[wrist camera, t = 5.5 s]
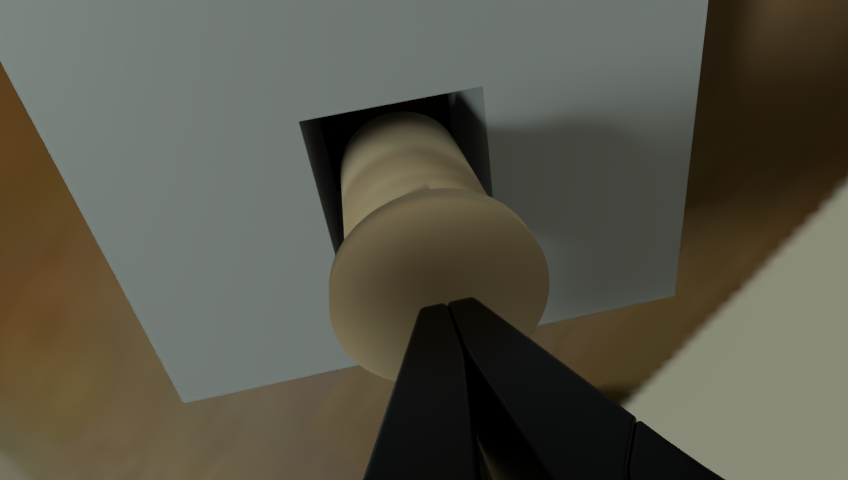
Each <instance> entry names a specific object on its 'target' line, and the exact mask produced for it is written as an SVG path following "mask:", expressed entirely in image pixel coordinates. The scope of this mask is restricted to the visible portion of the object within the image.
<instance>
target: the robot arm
mask: <svg viewBox="0 0 848 480" xmlns="http://www.w3.org/2000/svg"><path fill="white" fill-rule="evenodd" d="M363 480H725V479H723V478H722V477H720V476H719V475H717V474H715V473H714V472H712V471H711V470H709V469H708V468H706V467H704V466H703V465H701V464H700V463H698V462H697V461H696V460H694V459H693V458H691V457H690V456H689V455H687V454H686V453H684V452H683V451H681V450H680V449H679V448H677V447H676V446H674V445H673V444H671V443H670V442H669V441H667V440H666V439H665V438H663V437H662V436H660V435H659V434H658V433H656V432H655V431H654V430H652V429H651V428H650V427H648V426H647V425H646V424H644V423H643V422H641V421H638V422H636V418H635V416H633V415H632V414H631V413H629V412H628V411H626V410H625V409H624V408H622V407H621V406H620V405H618V404H617V403H616V402H614V401H613V400H612V399H610V398H609V397H608V396H606V395H605V394H604V393H602V392H601V391H600V390H598V389H597V388H596V387H594V386H593V385H592V384H590V383H589V382H587V381H586V380H585V379H583V378H582V377H581V376H579V375H578V374H577V373H575V372H574V371H573V370H571V369H570V368H569V367H567V366H566V365H565V364H563V363H562V362H561V361H559V360H558V359H557V358H555V357H554V356H553V355H551V354H550V353H548V352H547V351H546V350H544V349H543V348H542V347H540V346H539V345H538V344H536V343H535V342H534V341H532V340H531V339H530V338H528V337H527V336H526V335H524V334H523V333H522V332H520V331H519V330H518V329H516V328H515V327H514V326H512V325H511V324H509V323H508V322H507V321H505V320H504V319H503V318H501V317H500V316H499V315H497V314H496V313H495V312H493V311H492V310H491V309H489V308H488V307H487V306H485V305H484V304H483V303H481V302H480V301H479V300H477V299H476V298H474V297H468V298H463V299H458V300H454V301H450V302H449V303H448V306H447V305H446V304H444V303H440V304H435V305H430V306H426V307H422V308H421V309H420V310H419V312H418V315H417V318H416V321H415V324H414V327H413V330H412V333H411V336H410V340H409V343H408V346H407V349H406V352H405V355H404V358H403V361H402V364H401V367H400V370H399V373H398V376H397V379H396V382H395V385H394V388H393V391H392V394H391V397H390V400H389V403H388V406H387V409H386V412H385V415H384V418H383V421H382V424H381V427H380V430H379V433H378V436H377V439H376V442H375V445H374V448H373V451H372V454H371V457H370V460H369V463H368V466H367V469H366V472H365V475H364V478H363Z"/></svg>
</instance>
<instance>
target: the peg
mask: <svg viewBox="0 0 848 480" xmlns="http://www.w3.org/2000/svg"><path fill="white" fill-rule="evenodd" d="M340 173H341V191H342V208H343V224H344V241H343V243H342V245H341V246H340V248H339V250H338V252H337V254H336V256H335V259H334V261H333V265H332V268H331V272H330V279H329V313H330V319H331V324H332V328H333V330H334V333H335V335H336V338H337V339H338V341H339V343H340V344H341V346H342V348H343V349H344V350H345V351H346V353H347V354H348V355H349V356H350V357H351V358H352V359H353V360H354V361H355V362H356V363H358V364H359V365H360V366H362V367H363V368H365V369H366V370H368V371H369V372H371V373H373V374H375V375H377V376H379V377H382V378H385V379H387V380H390V381H394V382H396V379H397V376H398V373H399V370H400V367H401V364H402V361H403V358H404V355H405V352H406V349H407V346H408V343H409V340H410V336H411V333H412V330H413V327H414V324H415V321H416V318H417V315H418V312H419V310H420V309H421V308H422V307H426V306H430V305H435V304H440V303H444V304H446V305H447V306H448V303H449V302H450V301H454V300H458V299H463V298H468V297H474V298H476V299H477V300H479V301H480V302H481V303H483V304H484V305H485V306H487V307H488V308H489V309H491V310H492V311H493V312H495V313H496V314H497V315H499V316H500V317H501V318H503V319H504V320H505V321H507V322H508V323H509V324H511V325H512V326H514V327H515V328H516V329H518V330H519V331H520V332H522V333H523V334H524V335H526V336H527V337H528V338H529V337H530V336H531V334H532V333H533V331H534V330H535V328H536V327H537V325H538V323H539V321H540V319H541V317H542V315H543V313H544V310H545V307H546V304H547V300H548V295H549V285H550V278H549V269H548V265H547V261H546V258H545V255H544V253H543V251H542V249H541V247H540V245H539V244H538V242H537V241H536V239H535V238H534V236H533V235H532V233H531V232H530V230H529V229H528V227H527V226H526V224H525V223H524V221H523V220H522V219H521V218H520V217H519V216H518V215H517V214H516V213H515V212H514V211H512V210H511V209H510V208H509V207H507V206H506V205H505V204H503V203H501V202H499V201H498V200H496V199H494V198H492V197H489V196H488V195H487V194H486V192H485V190H484V189H483V187H482V185H481V184H480V182H479V180H478V179H477V177H476V175H475V174H474V172H473V170H472V169H471V167H470V165H469V163H468V162H467V160H466V158H465V157H464V155H463V153H462V152H461V150H460V148H459V147H458V145H457V143H456V142H455V140H454V138H453V137H452V135H451V134H450V133H449V131H448V130H447V129H446V128H445V127H444V126H443V125H441V124H440V123H439V122H437V121H436V120H434V119H432V118H430V117H428V116H426V115H423V114H419V113H416V112H408V111H399V112H391V113H387V114H383V115H381V116H378V117H376V118H374V119H372V120H370V121H368V122H367V123H366V124H364V125H363V126H362V127H360V128H359V129H358V130H357V131H356V132H355V133H354V135H353V136H352V137H351V139H350V140H349V142H348V144H347V145H346V147H345V150H344V152H343V156H342V160H341V167H340Z"/></svg>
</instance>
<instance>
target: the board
mask: <svg viewBox="0 0 848 480" xmlns="http://www.w3.org/2000/svg"><path fill="white" fill-rule="evenodd" d="M707 9H708V0H0V62H1V63H2V65H3V67H4V69H5V71H6V73H7V75H8V76H9V78H10V80H11V82H12V84H13V86H14V88H15V90H16V91H17V93H18V95H19V97H20V99H21V101H22V103H23V105H24V106H25V108H26V110H27V112H28V114H29V116H30V118H31V119H32V121H33V123H34V125H35V127H36V129H37V131H38V133H39V134H40V136H41V138H42V140H43V142H44V144H45V146H46V147H47V149H48V151H49V153H50V155H51V157H52V159H53V161H54V162H55V164H56V166H57V168H58V170H59V172H60V174H61V175H62V177H63V179H64V181H65V183H66V185H67V187H68V189H69V190H70V192H71V194H72V196H73V198H74V200H75V202H76V204H77V205H78V207H79V209H80V211H81V213H82V215H83V217H84V218H85V220H86V222H87V224H88V226H89V228H90V230H91V232H92V233H93V235H94V237H95V239H96V241H97V243H98V245H99V246H100V248H101V250H102V252H103V254H104V256H105V258H106V260H107V261H108V263H109V265H110V267H111V269H112V271H113V273H114V274H115V276H116V278H117V280H118V282H119V284H120V286H121V288H122V289H123V291H124V293H125V295H126V297H127V299H128V301H129V303H130V304H131V306H132V308H133V310H134V312H135V314H136V316H137V317H138V319H139V321H140V323H141V325H142V327H143V329H144V331H145V332H146V334H147V336H148V338H149V340H150V342H151V344H152V345H153V347H154V349H155V351H156V353H157V355H158V357H159V359H160V360H161V362H162V364H163V366H164V368H165V370H166V372H167V374H168V375H169V377H170V379H171V381H172V383H173V385H174V387H175V388H176V390H177V392H178V394H179V396H180V398H181V400H182V402H183V403H188V402H192V401H197V400H201V399H206V398H210V397H215V396H220V395H224V394H229V393H233V392H238V391H242V390H247V389H252V388H256V387H261V386H265V385H270V384H274V383H279V382H283V381H288V380H293V379H297V378H302V377H306V376H311V375H315V374H320V373H325V372H329V371H334V370H338V369H343V368H347V367H352V366H357V365H359V364H358V363H356V362H355V361H354V360H353V359H352V358H351V357H350V356H349V355H348V354H347V353H346V351H345V350H344V349H343V348H342V346H341V344H340V343H339V341H338V339H337V338H336V335H335V333H334V330H333V328H332V324H331V319H330V313H329V279H330V272H331V268H332V265H333V261H334V259H335V256H336V254H337V252H338V250H339V248H340V246H341V245H342V243H343V241H344V224H343V208H342V191H337V189H336V185H335V181H334V177H333V173H332V169H331V165H330V161H329V157H328V153H327V149H326V145H325V141H324V137H323V133H322V129H321V125H320V122H319V118H320V117H325V116H330V115H335V114H341V113H346V112H351V111H356V110H361V109H367V108H372V107H377V106H382V105H388V104H393V103H398V102H403V101H408V100H414V99H419V98H424V97H429V96H435V95H440V94H445V93H447V94H448V103H449V111H450V119H451V127H452V135H453V138H454V140H455V142H456V143H457V145H458V147H459V148H460V150H461V152H462V153H463V155H464V157H465V158H466V160H467V162H468V163H469V165H470V167H471V169H472V170H473V172H474V174H475V175H476V177H477V179H478V180H479V182H480V184H481V185H482V187H483V189H484V190H485V192H486V194H487V195H488V196H489V197H492V198H494V199H496V200H498V201H499V202H501V203H503V204H505V205H506V206H507V207H509V208H510V209H511V210H512V211H514V212H515V213H516V214H517V215H518V216H519V217H520V218H521V219H522V220H523V221H524V223H525V224H526V226H527V227H528V229H529V230H530V232H531V233H532V235H533V236H534V238H535V239H536V241H537V242H538V244H539V245H540V247H541V249H542V251H543V253H544V255H545V258H546V261H547V265H548V269H549V278H550V285H549V295H548V300H547V304H546V307H545V310H544V313H543V315H542V317H541V319H540V321H539V323H538V325H537V326H539V325H544V324H548V323H553V322H557V321H562V320H566V319H571V318H576V317H580V316H585V315H589V314H594V313H598V312H603V311H607V310H612V309H617V308H621V307H626V306H630V305H635V304H639V303H644V302H649V301H653V300H658V299H662V298H667V297H671V296H674V295H675V286H676V278H677V269H678V260H679V252H680V243H681V234H682V226H683V217H684V208H685V200H686V191H687V182H688V174H689V165H690V156H691V148H692V139H693V130H694V122H695V113H696V104H697V96H698V87H699V78H700V70H701V61H702V52H703V44H704V35H705V26H706V18H707Z"/></svg>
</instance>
